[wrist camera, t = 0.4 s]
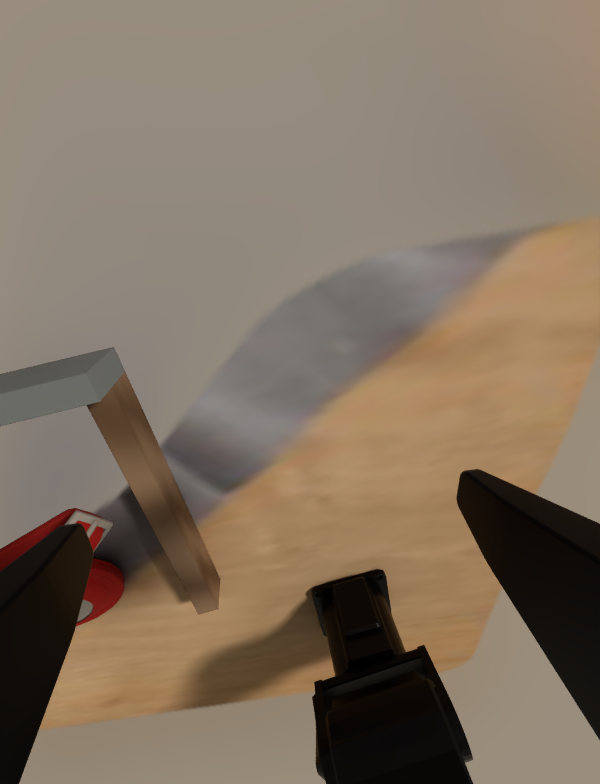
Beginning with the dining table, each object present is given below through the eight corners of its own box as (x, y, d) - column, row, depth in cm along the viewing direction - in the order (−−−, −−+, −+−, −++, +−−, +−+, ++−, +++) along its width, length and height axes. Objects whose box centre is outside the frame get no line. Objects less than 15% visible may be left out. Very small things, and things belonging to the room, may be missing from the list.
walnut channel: (220, 579, 29) (218, 608, 27) (-19, 644, 28) (-42, 680, 26) (124, 371, 21) (110, 388, 18) (-215, 453, 20) (-273, 482, 18)
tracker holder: (139, 620, 28) (-18, 673, 25) (137, 567, 31) (-3, 607, 28) (104, 534, 21) (-125, 592, 17) (106, 476, 24) (-88, 515, 21)
